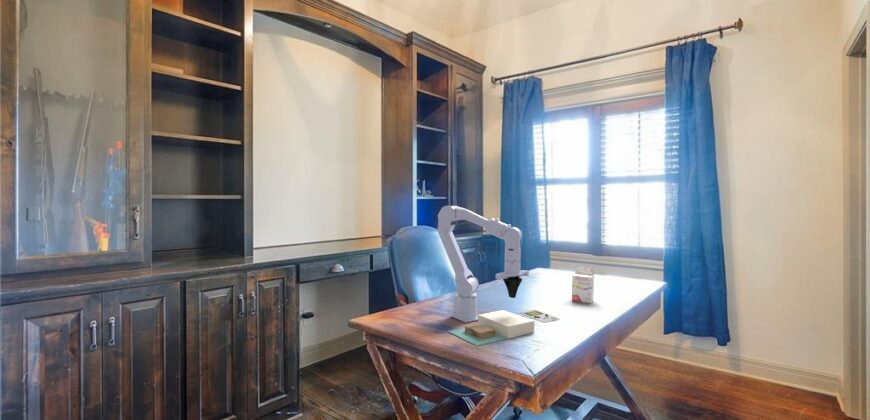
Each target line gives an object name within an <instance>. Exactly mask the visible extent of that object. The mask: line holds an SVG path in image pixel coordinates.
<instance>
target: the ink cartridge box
mask: <svg viewBox="0 0 870 420" xmlns="http://www.w3.org/2000/svg"><path fill="white" fill-rule="evenodd" d="M574 271H575V272H574V274H572V277H571V279H572V282H571V286H572V287H571V301H572V302H573V301H574V302H580V303H585V302H587V303H586V304H592V303H593V302H594V286H595V285H594V283H595V281H594V280H595V275H594V269H593V268H588V267H578V266H576V267H575V268H574ZM592 301H593V302H592Z"/></svg>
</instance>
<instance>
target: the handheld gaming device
mask: <svg viewBox="0 0 870 420" xmlns="http://www.w3.org/2000/svg"><path fill="white" fill-rule="evenodd" d="M518 314H520V315H521V316H525V317H527V318H530V319H532V320H534V321H535V320H536V321H538V322H540V323H551V322H554V321H559V320H560V318H559V317H556V316H554V315H552V314H548V313H545V312H543V311H540V310H537V309H528V310H523V311H518Z"/></svg>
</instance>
